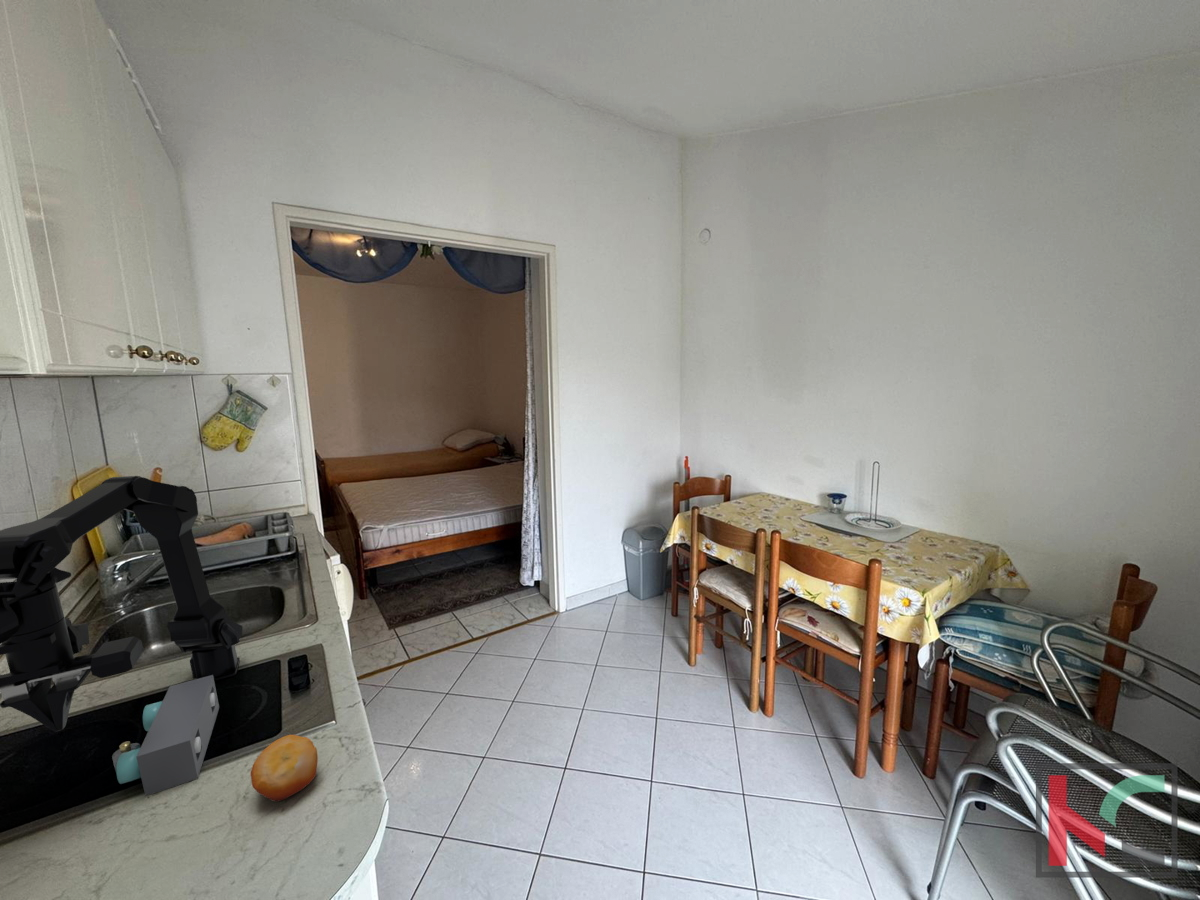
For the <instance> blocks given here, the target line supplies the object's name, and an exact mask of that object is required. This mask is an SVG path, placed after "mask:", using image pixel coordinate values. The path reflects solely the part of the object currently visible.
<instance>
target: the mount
mask: <svg viewBox="0 0 1200 900" xmlns="http://www.w3.org/2000/svg"><path fill="white" fill-rule="evenodd" d="M210 693H214V694H215V706H212V707H211V703H210V698H209V695H210ZM217 694H218V693H217V688H216V682H215V681H214V677H213V675H210V676H206V677H203V678H199V679H192V680H188V681H184V682H181V683H177V684H172V685H169V687H168V689H167V691H166V693H165V696H164V698H163V700H162V701H163V702H162V704H161V706H160V708H159V710H158V712H157V714H156V716H155V719H154V721H153V723H152V725H151V727H150V729H149V731H147V733H146V735H145V738H144V740H143V742H142V744H141V745H140V746H141V748H140V750H139V752H138V754H137V756H136V757H137V762H138V766H139V770H140V775H141V778H140V779H141V782H142V787H143V791H144V796H145V797H148V796H150V795H153V794H155V793H156V794H157V793H158V792H161V791H166V790H169V789H171V788H174V787H176V786H179V785H182V784H186V783H188V782H191V781H194V780H197V779H199V777H200V772H201V769H202V765H203V762H204V759H205V757H206V752H207V749H208V747H209V746H208V745H209V743H210V740H211V736H212V733H213V730H214V727H215V723H216V720H217V717H218V713H219V709H220V704H219V699H218V695H217ZM196 737H200V739H201V750H200V752H199V753H196V752H195V747H194V739H195V738H196Z"/></svg>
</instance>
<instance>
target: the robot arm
mask: <svg viewBox="0 0 1200 900" xmlns="http://www.w3.org/2000/svg"><path fill="white" fill-rule="evenodd" d="M195 493H196V492H195V491H194V490H193V489H192V488H189V487H188V486H185V485H184V486H183V485H176V484H169V483H164V482H159V481H156V480H151V479H148V478H146V477H143V476H140V475H131V476H130V475H128V476H126V475H125V476H112V477H109V478H108V479H105V480H104V481H102V483H101V484H100V485H98V486H97V487H94V488H93V489H91V490H90V491H88V492H86V493H84V494H82V495H80V496H78V497H77V498H74V499H73V500H71V501H70V502H68V503H67V504H64V505H62V506H61V507H59V508H57V509H55V510H54V511H51V512H50V513H48V514H46V515H45V516H43V517H41V518H39V519H36V520H33V521H30V522H26V523H22V524H18V525H15V526H10V527H7V528H3V529H1V530H0V580H12V579H16V581H6V582H4V581H3V582H0V656H2V655H5V659H6V663H7V666H8V669H9V672H8V673H4V674H0V694H1V698H2V701H1V702H0V708H2V709H5V708H13V709H14V710H17V711H19V712H21V713H23V714H25V715H27V716H29V717H31V718H33V719H34V720H35V721H37V722H39V723H40V724H42V725H43V726H45V727H46V728H48V729H49V730H51V731H52V732H59V731H62V730H64V729H65V727H66V726H67V721H68V717H69V714H70V710H71V704H72V700H73V697H74V694H75V690H77V689H78V688H80V686H81V685H82V684H83V682H84V681H85V679H86V678H87V677H88V675H89V674H90V673H91V676H94V677H97V678H100V679H103V678H108V677H111V676H116V675H119V674H123V673H124V674H125V673H127V672H129V671H130V670H132V669H134V667H135V665H136V664H137V662H138V661H139V658H140V657H141V656H142V654H143V652H144V646H143V642H142V640H141V639H140V638H139V637H136V636H135V635H132V636H129V637H124V638H119V639H115V640H111V641H106V642H103V643H102V644H101V645H100V647H99V648H98V650H97V651H96V652H95V653H93V654H83V655H78V656H75V655H76V654H79V653H80V654H81V651H83V649H84V648H83V646H86V645H90V644H91V643H90V632H89V623H88V622H85V623H79V624H75V625H73V623H72V620H71V618H70V617H65V614H64V609H63V606H62V602H61V597H60V594H59V591H58V587H57V586H58V585H57V584H58V583H60V582H63V581H64V580H67V579H69V578H70V577H71V576H72V573H71V572H69V571H68V570H67V571H66V570H62V569H59V568H57V566H58V565H60V564H61V563H62V562H63V561H64V560H65V559H66V558H67V557H69V555H70V554H71V552H72V548H73V544H74V543H75V542H77V541H78V540H79V539H80V538H81V537H83V536H85V535H86V534H88V533H90V532H91V531H92V530H94V529H95V528H97V527H98V526H100V525H102V524H103V523H105V522H106V521H108V520H109V519H110V518H112V517H114V516H116V515H118V513H120V512H122V511H127V512H131V513H132V514H134V517H135V518H136V520H137V522H138V525H139V526H140V527H141V528H142V529H143V530H144V531H146V532H147V533H148V534H149V535H151V536H152V537H154V538H155V539H156V541H157V545H158V548H159V552H160V554H161V555H160V556H161V558H162V562H163V565H164V568H165V571H166V575H167V578H168V581H169V585H170V587H171V591H172V595H173V598H174V600H175V604H176V611H175V613H174V615H173V618H172V620H170V621H168V622H167V625H166V627H167V629H168V631H169V635H170V642H174V644H175V646H177V647H178V648H179V649H180V651H181V652H182V653H187V652H191V656H190V659H189V664H190V665H189V666H190V670H191V674H192V675H191V676H192V679H193V680H195V679H199V678H203V677H206V676H210V675H213V677H214V682H215V681H219V680H222V679H226V678H229V677H230V678H231V677H234V676H236V674H237V672H238V667H239V666H240V665H239V663H240V660H241V658H240V657H238V654H237V650H236V645H237V644H239V643H240V639H241V638H242V637H243V625H241V624H239V623H237V622H235V621H234V620H231V619H230V617H229V615H228V613H227V611H226V608H225V607H224V606H223V605H222V604H221V603H219V602H218V601H216V600H215V599H214V598H212V597H211V595H210V590H209V587H208V584H207V580H206V576H205V574H204V569H203V566H202V563H201V559H200V555H199V551H198V549H197V548H198V547H197V545H196V541H195V538H194V534H193V529H192V528H193V526H194V525H195V522H196V520H197V518H198V516H199V510H198V509H199V508H198V500H197V499H198V498H197V496H196V494H195ZM52 682H53V685H52Z"/></svg>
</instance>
